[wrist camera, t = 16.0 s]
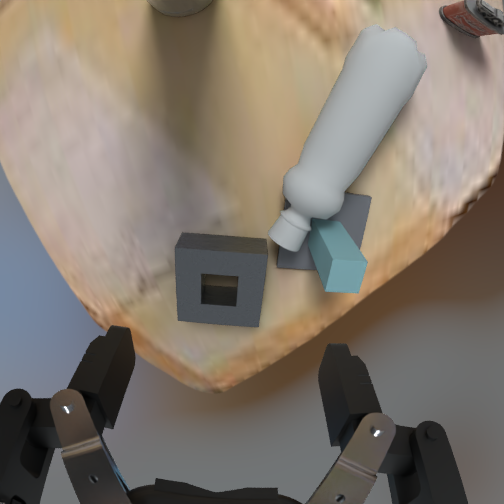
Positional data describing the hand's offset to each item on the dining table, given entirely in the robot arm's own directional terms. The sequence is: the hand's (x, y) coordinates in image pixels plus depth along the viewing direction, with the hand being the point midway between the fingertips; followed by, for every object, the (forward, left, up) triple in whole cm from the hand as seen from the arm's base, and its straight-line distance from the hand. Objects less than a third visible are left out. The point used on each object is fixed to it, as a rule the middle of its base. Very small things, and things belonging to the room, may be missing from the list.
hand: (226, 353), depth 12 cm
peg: (+7, +12, -31) cm, 34 cm away
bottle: (-7, +11, -32) cm, 34 cm away
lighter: (-30, +30, -32) cm, 53 cm away
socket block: (+15, -2, -32) cm, 35 cm away
